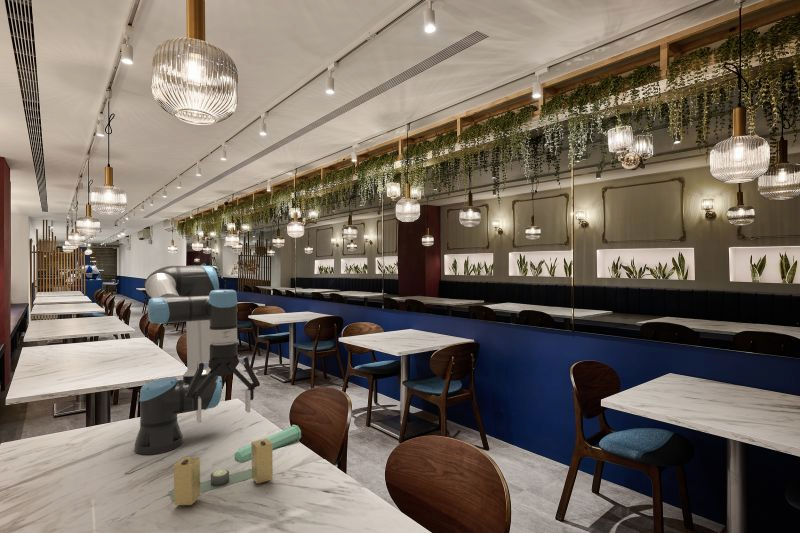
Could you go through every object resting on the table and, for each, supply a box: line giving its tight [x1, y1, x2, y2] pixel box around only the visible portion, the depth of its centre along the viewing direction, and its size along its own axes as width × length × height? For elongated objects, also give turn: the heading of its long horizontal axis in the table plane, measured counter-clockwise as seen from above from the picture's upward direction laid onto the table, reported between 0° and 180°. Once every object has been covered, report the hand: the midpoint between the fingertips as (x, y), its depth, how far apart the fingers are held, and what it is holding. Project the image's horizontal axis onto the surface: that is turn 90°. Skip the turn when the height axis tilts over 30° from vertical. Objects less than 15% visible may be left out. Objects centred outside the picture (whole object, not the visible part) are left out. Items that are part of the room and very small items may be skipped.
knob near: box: [173, 456, 201, 507], centre depth 117 cm, size 5×5×12 cm
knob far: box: [250, 438, 274, 484], centre depth 129 cm, size 5×5×12 cm
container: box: [234, 424, 302, 463], centre depth 152 cm, size 6×6×25 cm
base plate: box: [168, 468, 252, 502], centre depth 126 cm, size 12×26×4 cm, turn 126°
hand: (224, 416), depth 128 cm, fingers open, 13 cm apart
